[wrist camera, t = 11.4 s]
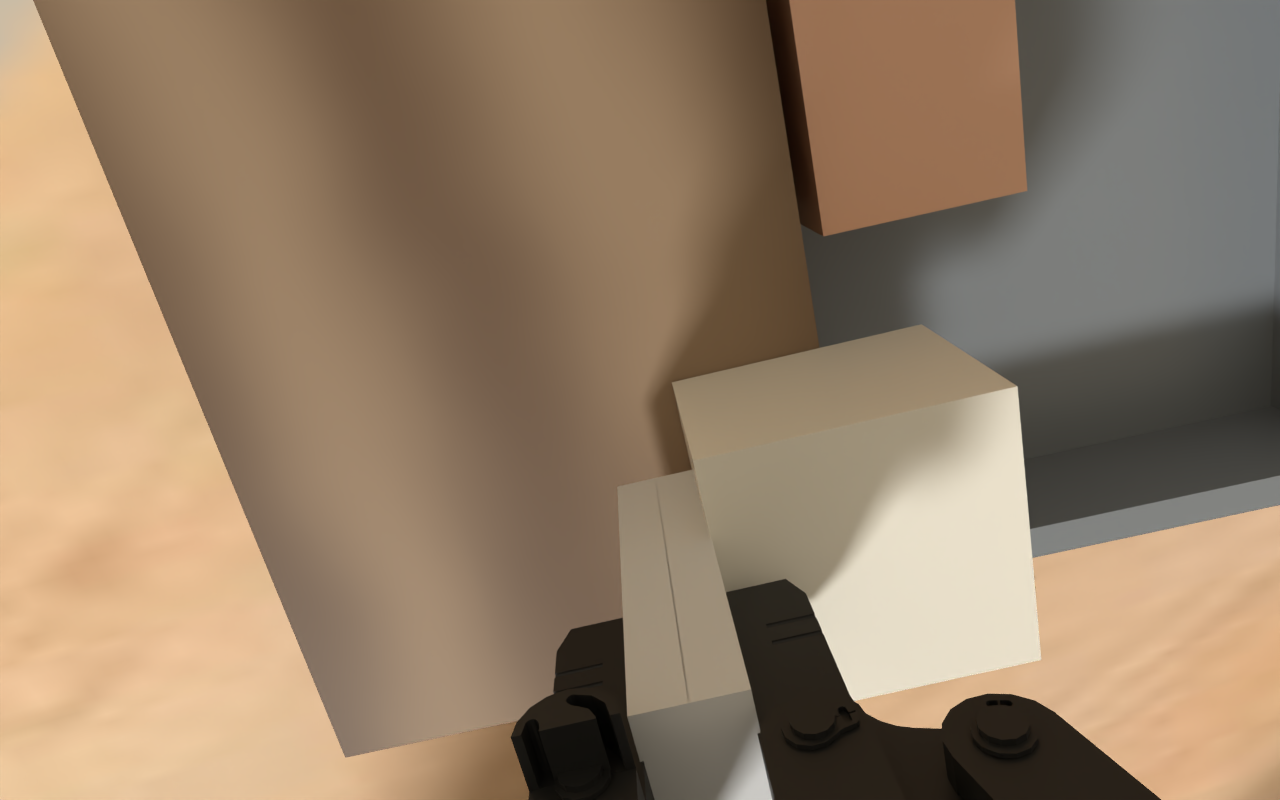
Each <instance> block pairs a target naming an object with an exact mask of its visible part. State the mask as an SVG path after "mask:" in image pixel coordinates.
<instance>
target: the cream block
mask: <svg viewBox="0 0 1280 800" xmlns="http://www.w3.org/2000/svg"><path fill="white" fill-rule="evenodd" d="M672 386H673V390H674V394H675V399H676V403H677V408H678V412H679V416H680V421H681V425H682V430H683V434H684V438H685V443H686V447H687V451H688V456H689V460H690V465H691V469H692V470H693V474H694V477H695V481H696V485H697V489H698V493H699V496H700V500H701V504H702V508H703V512H704V515H705V519H706V523H707V527H708V531H709V534H710V538H711V539H712V542H713V546H714V550H715V554H716V557H717V561H718V565H719V569H720V573H721V576H722V580H723V584H724V588H725V592H729V591H733V590H738V589H742V588H747V587H751V586H756V585H760V584H765V583H769V582H774V581H778V580H783V579H787V580H788V581H789V582H791V583H792V584H794V585H795V586H796V587H798V588H799V589H801V590H802V591H803V592H805V593H806V595H807V597H808V599H809V602H810V604H811V606H812V609H813V611H814V613H815V617H816V618H817V620H818V622H819V625H820V627H821V629H822V633H823V634H824V636H825V639H826V641H827V643H828V646H829V648H830V650H831V653H832V655H833V657H834V660H835V662H836V664H837V667H838V669H839V671H840V673H841V676H842V678H843V680H844V683H845V685H846V687H847V690H848V692H849V694H850V696H851V698H852V699H853V701H856V700H861V699H865V698H870V697H874V696H879V695H884V694H888V693H893V692H897V691H902V690H906V689H911V688H915V687H920V686H925V685H929V684H934V683H938V682H943V681H947V680H952V679H956V678H961V677H966V676H970V675H975V674H979V673H984V672H988V671H993V670H997V669H1002V668H1007V667H1011V666H1016V665H1020V664H1025V663H1029V662H1034V661H1038V660H1041V651H1040V640H1039V628H1038V617H1037V605H1036V594H1035V582H1034V571H1033V559H1032V548H1031V536H1030V525H1029V513H1028V502H1027V490H1026V479H1025V467H1024V456H1023V444H1022V433H1021V421H1020V410H1019V398H1018V387H1017V386H1016V385H1015V384H1013V383H1012V382H1010V381H1009V380H1007V379H1005V378H1004V377H1002V376H1001V375H999V374H998V373H996V372H995V371H993V370H992V369H990V368H988V367H987V366H985V365H984V364H982V363H981V362H979V361H978V360H976V359H974V358H973V357H971V356H970V355H968V354H967V353H965V352H964V351H962V350H961V349H959V348H957V347H956V346H954V345H953V344H951V343H950V342H948V341H947V340H945V339H944V338H942V337H940V336H939V335H937V334H936V333H934V332H933V331H931V330H930V329H928V328H927V327H925V326H923V325H922V324H921V325H916V326H912V327H908V328H903V329H899V330H895V331H890V332H886V333H882V334H878V335H873V336H869V337H865V338H860V339H856V340H852V341H847V342H843V343H839V344H834V345H830V346H826V347H822V348H817V349H813V350H809V351H804V352H800V353H796V354H791V355H787V356H783V357H778V358H774V359H770V360H766V361H761V362H757V363H753V364H748V365H744V366H740V367H735V368H731V369H727V370H723V371H718V372H714V373H710V374H705V375H701V376H697V377H692V378H688V379H684V380H679V381H675V382H672Z"/></svg>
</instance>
